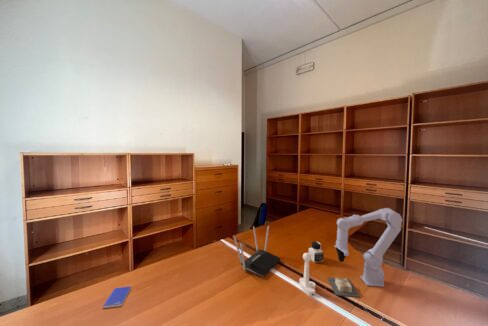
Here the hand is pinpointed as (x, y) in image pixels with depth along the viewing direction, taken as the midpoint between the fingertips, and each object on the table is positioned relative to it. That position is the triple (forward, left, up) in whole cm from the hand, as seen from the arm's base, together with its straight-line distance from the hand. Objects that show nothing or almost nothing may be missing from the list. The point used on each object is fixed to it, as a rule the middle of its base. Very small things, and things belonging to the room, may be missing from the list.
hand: (341, 261), depth 118 cm
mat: (+2, +9, -10) cm, 14 cm away
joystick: (+21, +12, -10) cm, 26 cm away
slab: (+2, +7, -8) cm, 10 cm away
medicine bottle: (+10, -18, -10) cm, 23 cm away
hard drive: (+119, +31, -11) cm, 124 cm away
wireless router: (+50, -8, -10) cm, 52 cm away
